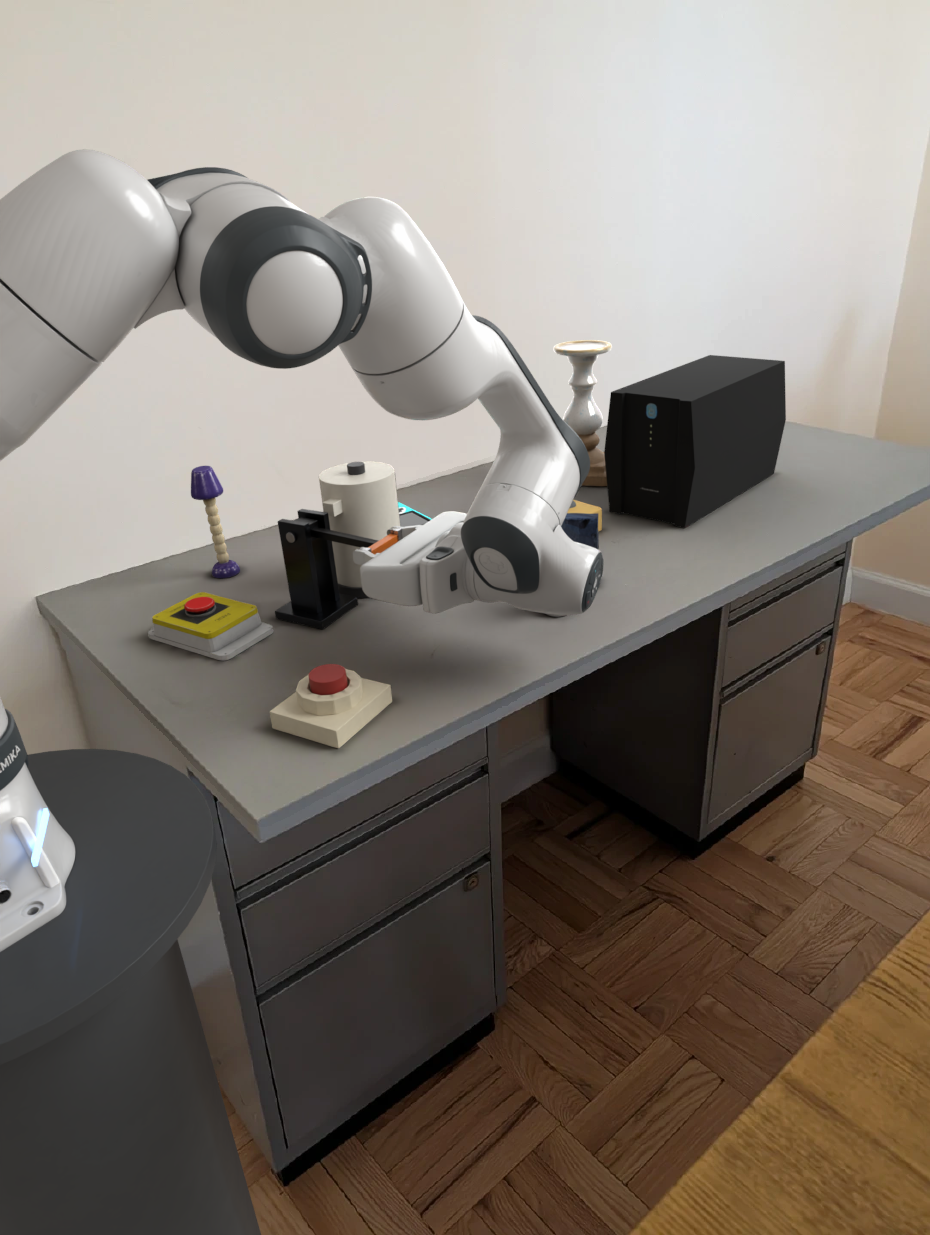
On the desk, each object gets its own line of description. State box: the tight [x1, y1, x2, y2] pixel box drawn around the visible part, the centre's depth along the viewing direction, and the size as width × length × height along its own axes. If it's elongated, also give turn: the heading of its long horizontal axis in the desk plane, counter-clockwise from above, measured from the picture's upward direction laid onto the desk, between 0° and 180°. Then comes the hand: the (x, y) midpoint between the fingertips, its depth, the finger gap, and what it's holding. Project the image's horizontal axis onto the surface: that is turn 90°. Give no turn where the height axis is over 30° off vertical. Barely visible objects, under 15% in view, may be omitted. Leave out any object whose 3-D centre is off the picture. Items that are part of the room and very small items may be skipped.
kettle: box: [318, 460, 400, 599], centre depth 126 cm, size 14×11×18 cm
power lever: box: [293, 517, 398, 554], centre depth 114 cm, size 14×6×2 cm, turn 60°
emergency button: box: [147, 591, 274, 661], centre depth 117 cm, size 9×4×15 cm
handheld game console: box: [398, 501, 433, 527], centre depth 150 cm, size 10×16×1 cm, turn 33°
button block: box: [269, 668, 393, 749], centre depth 98 cm, size 10×9×4 cm
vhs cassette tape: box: [561, 513, 600, 550], centre depth 124 cm, size 18×3×10 cm, turn 78°
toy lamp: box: [190, 465, 241, 579], centre depth 133 cm, size 5×5×17 cm
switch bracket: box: [274, 508, 359, 630], centre depth 119 cm, size 8×8×14 cm
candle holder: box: [553, 339, 613, 487], centre depth 162 cm, size 11×11×24 cm
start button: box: [308, 663, 348, 695], centre depth 97 cm, size 4×4×2 cm
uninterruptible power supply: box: [603, 354, 787, 529], centre depth 152 cm, size 16×34×20 cm, turn 138°
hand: (373, 544), depth 112 cm, fingers closed on power lever, 6 cm apart
